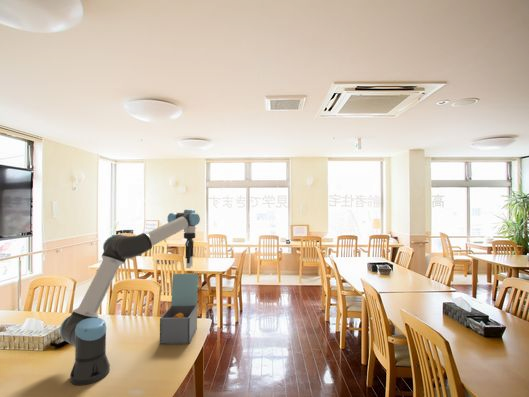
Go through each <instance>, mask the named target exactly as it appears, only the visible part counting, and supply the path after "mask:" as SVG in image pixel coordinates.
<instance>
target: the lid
mask: <svg viewBox="0 0 529 397" xmlns="http://www.w3.org/2000/svg"><path fill="white" fill-rule="evenodd" d="M171 282H172V285H171V303H170V304H171V305H170V306H191V305H197V306H198V294H199V292H198V290H199V273H173V274H172V281H171Z"/></svg>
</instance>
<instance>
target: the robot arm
mask: <svg viewBox="0 0 529 397" xmlns="http://www.w3.org/2000/svg"><path fill="white" fill-rule="evenodd" d="M200 222H201V217H200V214H198V213H197V212H196V210H195V209H184V210H183V212H170V213H168V215H167V223H165V224H163V225H161V226H159V227H157V228H155V229H152V230H150V231H148V232H146V233H145V232H142V233H140V234H138V235H123V234H115V235H111V236H110V237H108V238H106V239H105V241H104V243H103V246H102V249H103V252H102V255H101V258H102V261H101V263H100V265H99V268H98V269H97V271H96V272H95V275H94V276H93V279H92V281H91V283H90V285H89V286H88V289H87V290H86V292H85V294H84V296H83V299H82V300H81V303H80V304H79V306H78V307H77V308H75V309H73V310H72V312H71V314H70V315H69V316H68V317H66V318H65V319H64V320H63V321H62V322H61V325H60V327H59V334H60V336H61V338H62V339H63V341H65V342H66V343H69V344H70V345H71V346H73V347H74V348H75V350H74V352H75V353H74V354H75V355H74V356H75V358H74V360H75V361H74V363H73V366H72V369H71V371H70V376H69V382H70V384H71V385H74V386H86V385H89V384H93V383H96V382H98V381H100V380H102V379H104V378H105V377H106V376H108V374H109V373H110V370H111V368H110V366H111V364H110V361H109V359H108V357H107V353H106V352H107V351H106V350H107V349H106V348H107V347H106V346H107V324H106V321H105V320H104V319H103V318H101V317H99V314H98V311H99V309H100V307H101V305H102V303H103V301H104V298H105V297H106V295H107V293H108V290H109V289H110V286H111V285H112V282H113V280H114V278H115V276H116V274H117V272H118V270H119V268H120V266H122V265H124V264H125V263H126V261H127V260H129V259H133V258H137V257H138V256H140V255H142V254H144V253H147V252H149V251H150V250H152V249H153V247H154V246H155V245H157V244H159V243H160V242H162V241H165V240H166V239H168V238H170V237H171V236H173V235H176V234H178V233H180V232H182V231H183V232H184V233H183V239H186V241H185V244H184V245H185V257H184V258H185V259H186V260H185V261H186V264H185V265H186V269H191V268H192V267H193V258H194V256H195V255H194V242H195V241H194V240H193V239H195V238H196V229H197V227H196V226H197V225H199V224H200Z"/></svg>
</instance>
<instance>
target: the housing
mask: <svg viewBox="0 0 529 397" xmlns="http://www.w3.org/2000/svg"><path fill="white" fill-rule="evenodd" d="M178 313H182V314H183V315H184V317H185V318H172V317H173V316H175V315H176V314H178ZM197 329H198V304H197V305H191V306H171V305H170V306H169V308H168V309H167V310H166V311H165V312H164V314H163V315H162V316H161V317H160V318H159V345H160V346H161V345H190V343H191V341H192V340H193V337H194V335H195V334H196V331H197Z"/></svg>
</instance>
